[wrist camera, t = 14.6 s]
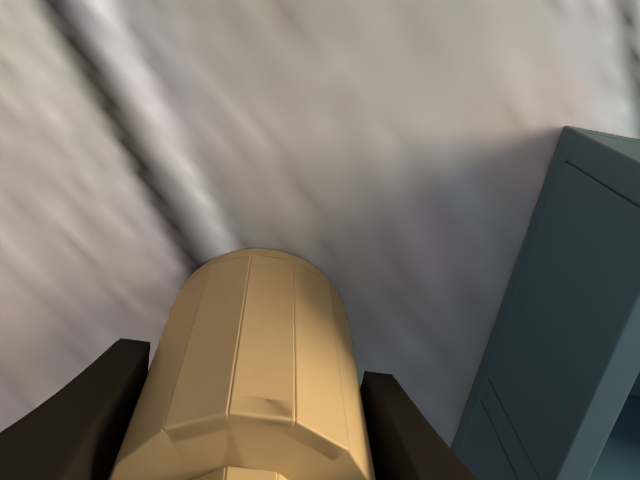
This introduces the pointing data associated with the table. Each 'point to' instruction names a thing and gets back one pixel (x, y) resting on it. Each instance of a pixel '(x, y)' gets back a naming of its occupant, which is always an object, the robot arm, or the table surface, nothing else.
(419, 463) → the robot arm
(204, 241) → the table surface
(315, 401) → the cream bottle
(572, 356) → the carrier
